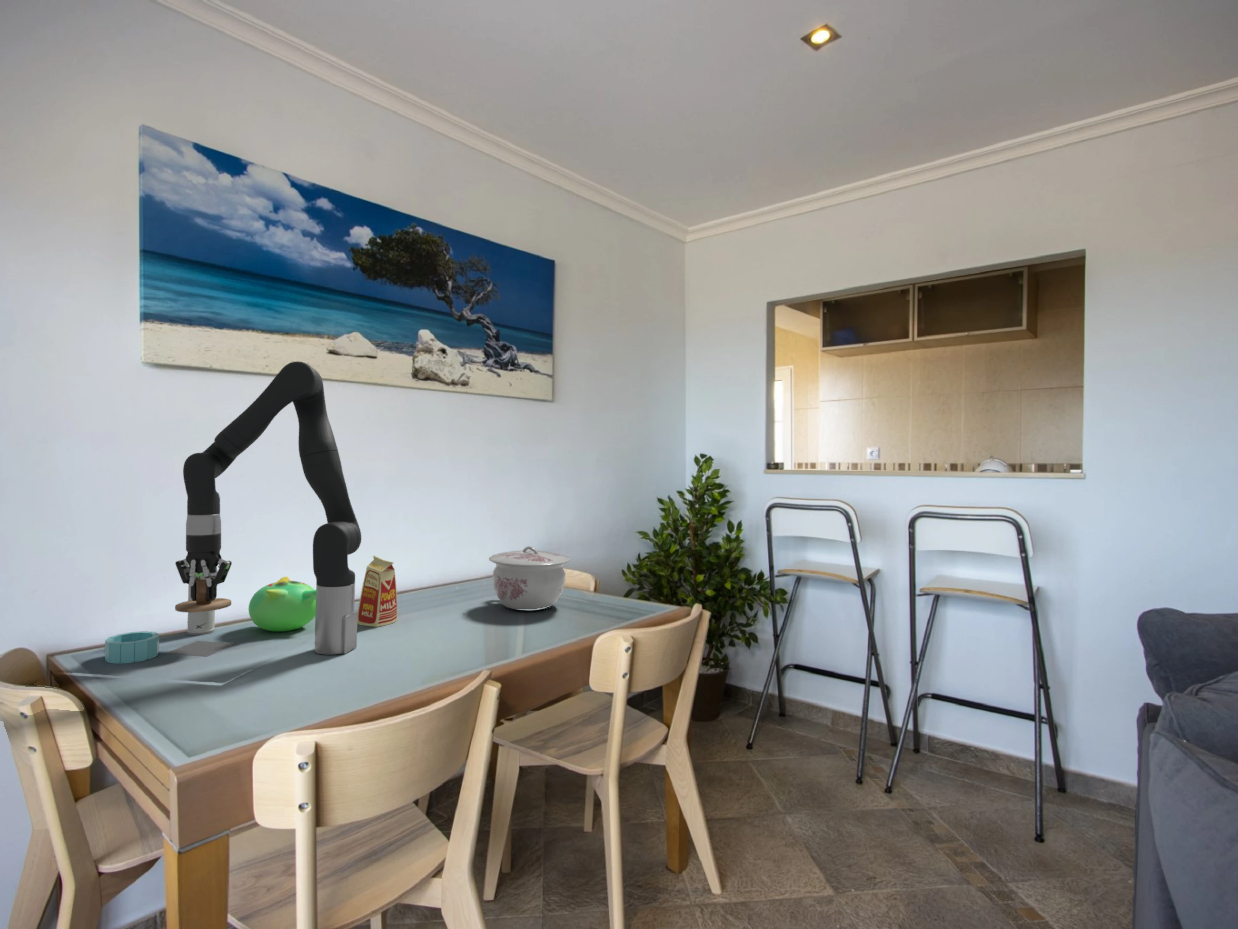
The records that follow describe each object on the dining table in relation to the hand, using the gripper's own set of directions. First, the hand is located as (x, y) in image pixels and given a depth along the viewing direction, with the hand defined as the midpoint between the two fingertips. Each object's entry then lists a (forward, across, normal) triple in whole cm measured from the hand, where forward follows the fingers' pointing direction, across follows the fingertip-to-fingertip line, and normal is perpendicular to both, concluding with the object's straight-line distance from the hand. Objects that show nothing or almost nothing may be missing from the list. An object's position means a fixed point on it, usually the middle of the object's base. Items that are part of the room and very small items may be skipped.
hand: (203, 600), depth 167 cm
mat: (+13, +1, 0) cm, 13 cm away
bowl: (+13, +12, +8) cm, 19 cm away
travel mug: (+13, +10, -14) cm, 21 cm away
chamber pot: (+15, -69, -65) cm, 96 cm away
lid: (+2, 0, 0) cm, 2 cm away
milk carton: (+14, -30, -35) cm, 48 cm away
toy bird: (+13, -9, -21) cm, 27 cm away
